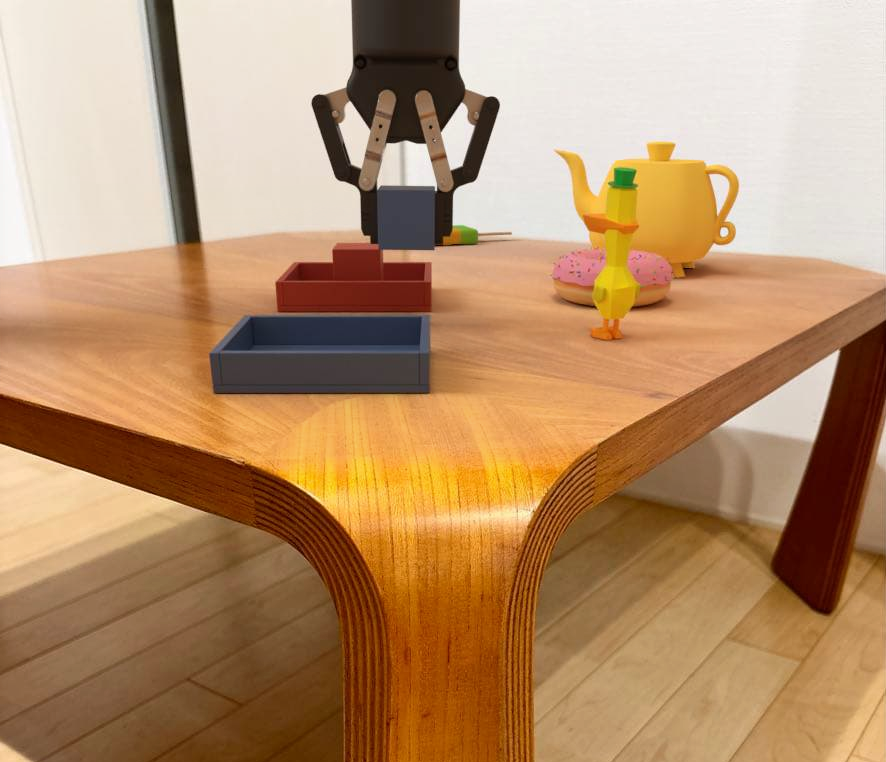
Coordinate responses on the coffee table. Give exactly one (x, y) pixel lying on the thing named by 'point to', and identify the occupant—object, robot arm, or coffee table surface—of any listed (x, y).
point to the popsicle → (467, 235)
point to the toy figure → (615, 253)
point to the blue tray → (324, 354)
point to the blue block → (406, 217)
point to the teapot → (664, 204)
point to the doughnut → (584, 266)
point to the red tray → (355, 289)
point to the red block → (357, 262)
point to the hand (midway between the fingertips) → (406, 242)
